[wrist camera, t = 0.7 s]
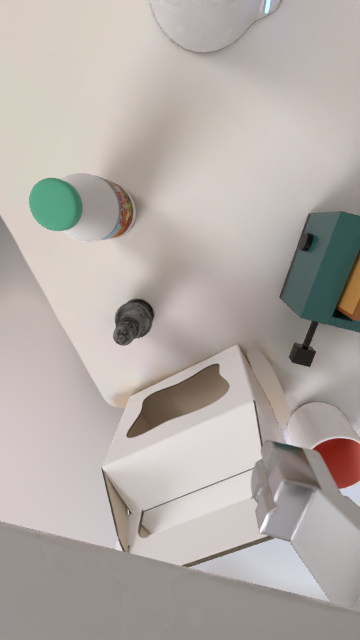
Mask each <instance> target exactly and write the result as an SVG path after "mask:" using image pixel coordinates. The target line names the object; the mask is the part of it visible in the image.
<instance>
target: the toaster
mask: <svg viewBox="0 0 360 640" xmlns="http://www.w3.org/2000/svg"><path fill="white" fill-rule="evenodd" d="M359 250H360V216H357V215H353V214H349V213H345V212H341V211H340V212H326V213H312V214H308V217H307V220H306V223H305V226H304V229H303V231H302V234H301V237H300V240H299V243H298V246H297V249H296V251H295V254H294V257H293V260H292V263H291V266H290V268H289V271H288V274H287V277H286V280H285V283H284V286H283V288H282V291H281V294H280V298H281V299H282V300H283V301H284V302H285V303H286V304H287V305H288V306H289V307H290V308H291V309H292V310H293V311H294V312H295V313H296V314H297V315H298V316H299V317H300V318H304V319H308V320H312V321H316V322H320V323H324V324H329V325H332V326H336V327H340V328H344V329H349V330H352V331H356V332H360V321H356V320H353V319H351V318H350V317H348V316H346V315H345V314H343V313H342V312H340V311H339V310H337V309H336V305H337V303H338V301H339V298H340V296H341V293H342V291H343V288H344V286H345V284H346V281H347V279H348V276H349V274H350V272H351V269H352V267H353V264H354V262H355V259H356V257H357V255H358V252H359Z"/></svg>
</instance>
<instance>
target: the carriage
mask: <svg viewBox="0 0 360 640" xmlns="http://www.w3.org/2000/svg"><path fill="white" fill-rule="evenodd" d="M318 323H319V322H316V321H312V322H311V325H310V327H309V330H308V333H307V335H306V338H305V340H304V343H303V345H302V344H298V343H294V345H293V348H292V350H291V353H290V356H289V358H290V360H291V361H292V363H296V364H300V365H304V366H308V367H310V366H311V363H312V361H313V358H314V356H315V353H316V351H315V350H314V349H313V348H312V347H310V346H309V345H310V342H311V340H312V337H313V335H314V333H315V330H316V328H317V325H318Z"/></svg>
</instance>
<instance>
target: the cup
mask: <svg viewBox="0 0 360 640" xmlns="http://www.w3.org/2000/svg"><path fill="white" fill-rule="evenodd" d="M287 430H288V435H289V438H290V440H291V443H292V445H293V446H296V447H302V448H307V449H311V450H316V451H317V452H319V453H320V455H321V457H322V458H323V460H324V462H325V464H326V466H327V468H328V470H329V472H330V473H331V475H332V477H333V479H334V481H335V483H336V485H337V487H338V488H339V490H341V489H346V488H349V487H352V486H354V485H356V484H357V483H359V482H360V437H359V436H358V434H357V433H356V431H355V430H354V429H353V427H352V426H351V425H350V423H349V422H348V421H347V419H346V418H345V416H344V415H343V414H342V413H341V411H340V410H338V409H337V408H336V407H334V406H332V405H330V404H327V403H322V402H313V403H308V404H305V405H303V406H301V407H300V408H298V409H297V410H296V411H295V412H294V413H293V414H292V415H291V417H290V419H289V422H288V427H287Z"/></svg>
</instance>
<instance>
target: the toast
mask: <svg viewBox="0 0 360 640" xmlns="http://www.w3.org/2000/svg"><path fill="white" fill-rule="evenodd" d="M336 309H337V310H339V311H340V312H342V313H343V314H345V315H346V316H348V317H350V318H351V319H353V320H356V321H360V250H359V252H358V255H357V257H356V259H355V262H354V264H353V267H352V269H351V272H350V274H349V276H348V279H347V281H346V284H345V286H344V288H343V291H342V293H341V296H340V298H339V301H338V303H337V305H336Z"/></svg>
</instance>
